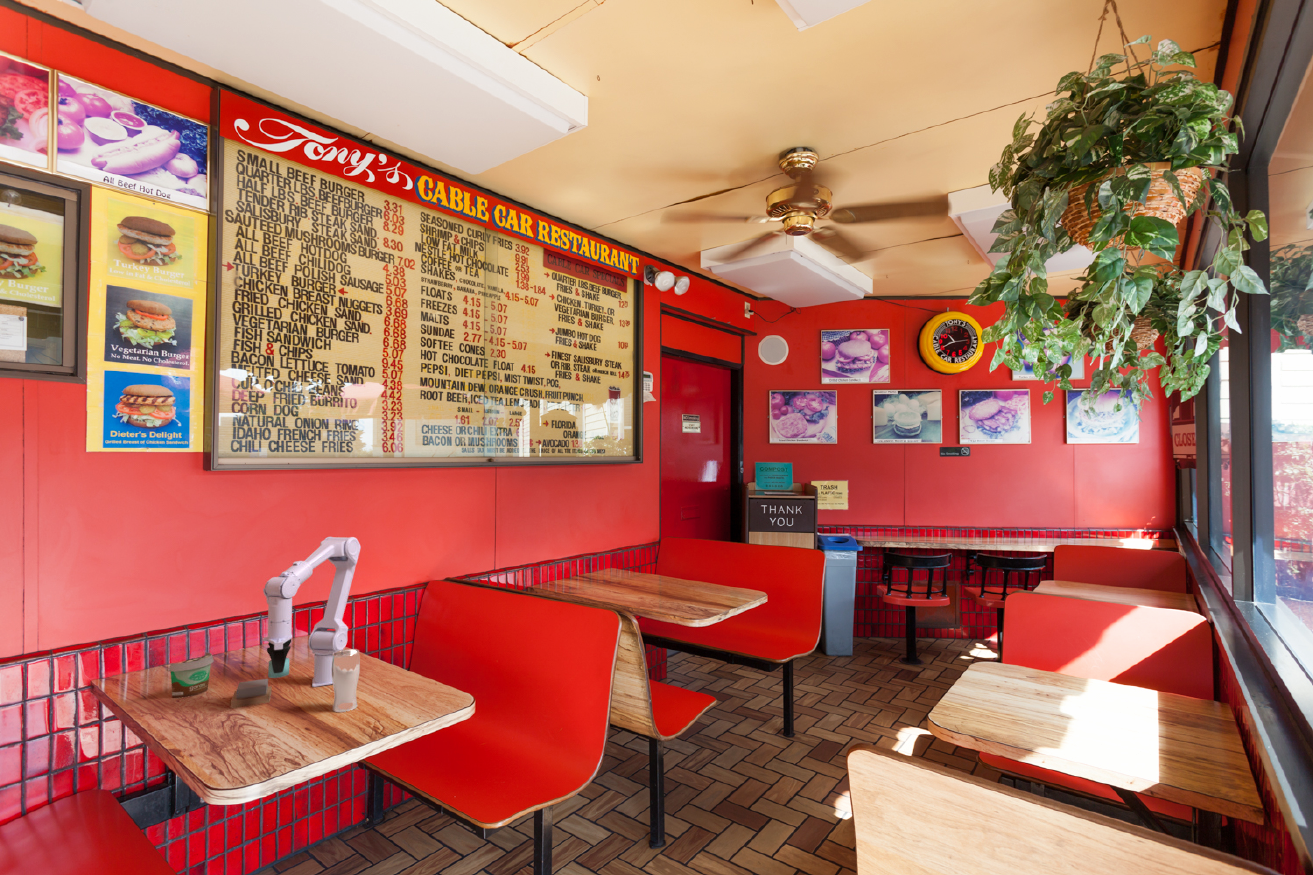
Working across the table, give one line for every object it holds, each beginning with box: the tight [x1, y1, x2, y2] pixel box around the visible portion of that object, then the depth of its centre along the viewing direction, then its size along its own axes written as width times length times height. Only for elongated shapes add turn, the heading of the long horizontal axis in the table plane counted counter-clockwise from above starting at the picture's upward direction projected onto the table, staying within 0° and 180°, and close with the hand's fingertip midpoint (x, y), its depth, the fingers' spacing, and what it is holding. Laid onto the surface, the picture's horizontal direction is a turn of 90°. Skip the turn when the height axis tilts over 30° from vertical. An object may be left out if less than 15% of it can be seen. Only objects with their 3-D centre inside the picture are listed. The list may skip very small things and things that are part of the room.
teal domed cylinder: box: [267, 657, 290, 679], centre depth 176 cm, size 5×5×4 cm
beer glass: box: [332, 648, 361, 713], centre depth 172 cm, size 7×7×15 cm
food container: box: [168, 651, 215, 699], centre depth 185 cm, size 12×6×10 cm, turn 168°
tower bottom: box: [230, 685, 272, 709], centre depth 179 cm, size 9×9×2 cm
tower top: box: [236, 678, 269, 699], centre depth 179 cm, size 7×7×2 cm
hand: (278, 669), depth 176 cm, fingers closed on teal domed cylinder, 5 cm apart
